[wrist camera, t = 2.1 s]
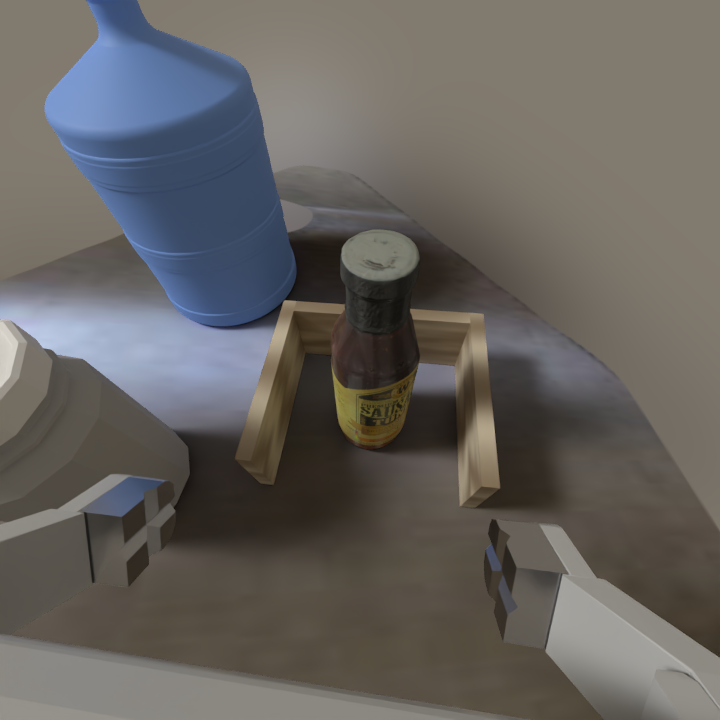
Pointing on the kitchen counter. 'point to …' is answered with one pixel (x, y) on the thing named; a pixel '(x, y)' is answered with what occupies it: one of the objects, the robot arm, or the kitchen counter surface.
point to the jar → (71, 430)
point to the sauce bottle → (375, 337)
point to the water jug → (178, 164)
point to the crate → (436, 346)
